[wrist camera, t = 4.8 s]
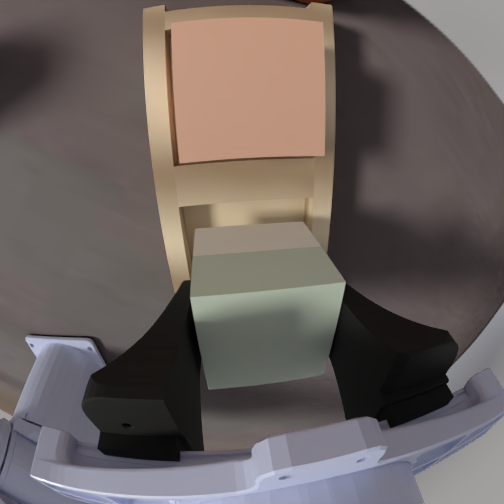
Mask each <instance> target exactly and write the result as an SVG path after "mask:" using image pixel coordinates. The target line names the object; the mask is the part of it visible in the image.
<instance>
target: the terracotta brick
mask: <svg viewBox="0 0 504 504" xmlns="http://www.w3.org/2000/svg"><path fill="white" fill-rule="evenodd" d="M171 44H172V71H173V90H174V106H175V120H176V132H177V143H178V154H179V164H180V163H189V162H200V161H211V160H223V159H238V158H256V157H283V156H325V51H324V30H323V22H317V21H309V20H299V19H285V18H261V17H240V18H216V19H203V20H193V21H184V22H176V23H171Z"/></svg>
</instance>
